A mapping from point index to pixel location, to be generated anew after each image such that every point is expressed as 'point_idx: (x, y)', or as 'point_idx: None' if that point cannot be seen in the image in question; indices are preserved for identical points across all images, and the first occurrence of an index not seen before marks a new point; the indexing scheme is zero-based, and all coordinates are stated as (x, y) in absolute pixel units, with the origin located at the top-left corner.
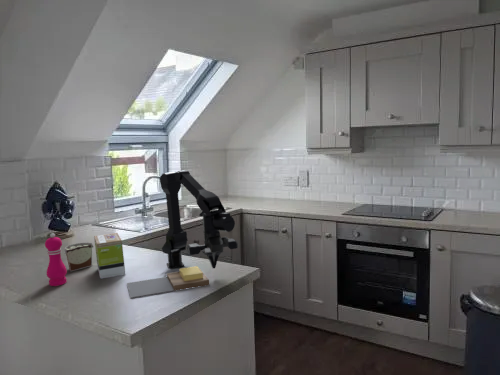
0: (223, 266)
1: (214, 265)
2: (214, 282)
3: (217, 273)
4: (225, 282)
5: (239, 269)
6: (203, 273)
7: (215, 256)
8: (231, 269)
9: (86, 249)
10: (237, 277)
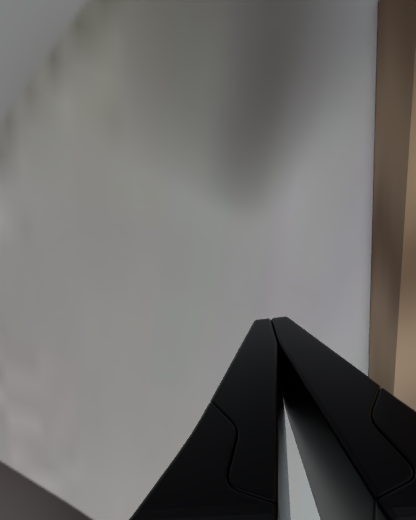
0: (144, 490)
1: (269, 337)
2: (290, 94)
3: (212, 364)
4: (155, 42)
5: (9, 393)
6: (403, 297)
7: (267, 492)
8: (80, 414)
9: None
10: (12, 184)
